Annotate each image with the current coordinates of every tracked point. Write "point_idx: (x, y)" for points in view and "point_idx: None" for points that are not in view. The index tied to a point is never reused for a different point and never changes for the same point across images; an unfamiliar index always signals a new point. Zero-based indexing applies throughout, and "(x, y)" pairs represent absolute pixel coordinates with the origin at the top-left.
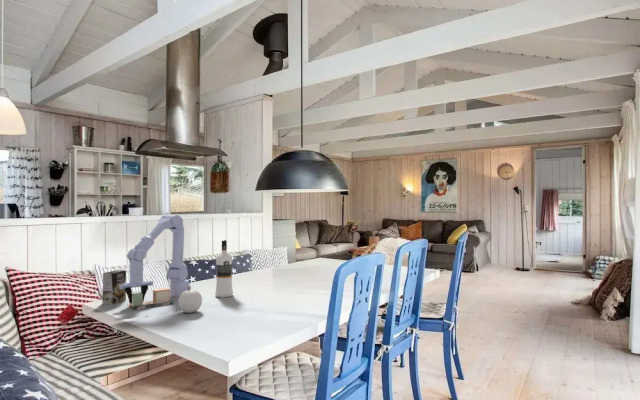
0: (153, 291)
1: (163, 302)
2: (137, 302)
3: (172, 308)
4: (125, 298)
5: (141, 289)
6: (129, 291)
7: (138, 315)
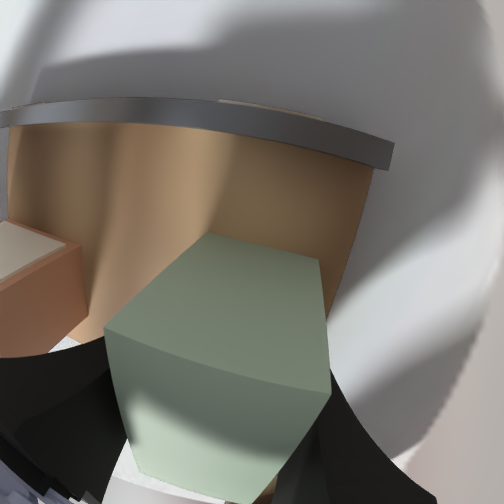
0: None
1: (35, 105)
2: (258, 272)
3: (51, 58)
4: None
5: (98, 463)
6: (385, 500)
7: (362, 6)
